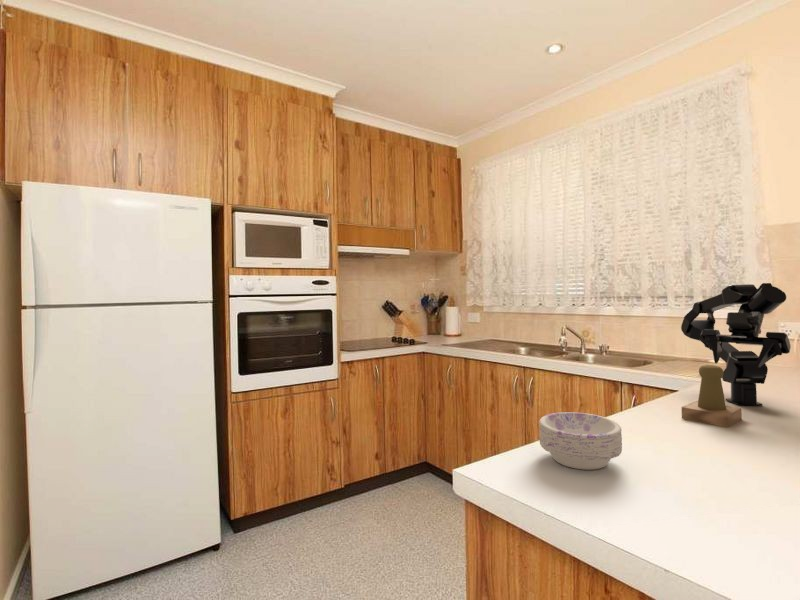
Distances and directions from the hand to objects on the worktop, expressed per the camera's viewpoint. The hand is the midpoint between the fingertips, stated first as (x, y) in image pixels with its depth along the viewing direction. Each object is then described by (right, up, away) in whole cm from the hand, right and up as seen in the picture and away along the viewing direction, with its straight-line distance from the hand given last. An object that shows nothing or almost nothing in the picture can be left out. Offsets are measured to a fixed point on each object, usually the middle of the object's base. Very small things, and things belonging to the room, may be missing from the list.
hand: (736, 364), depth 112 cm
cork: (-9, -11, -3) cm, 14 cm away
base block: (-9, -14, -3) cm, 17 cm away
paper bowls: (-54, -15, -28) cm, 63 cm away
